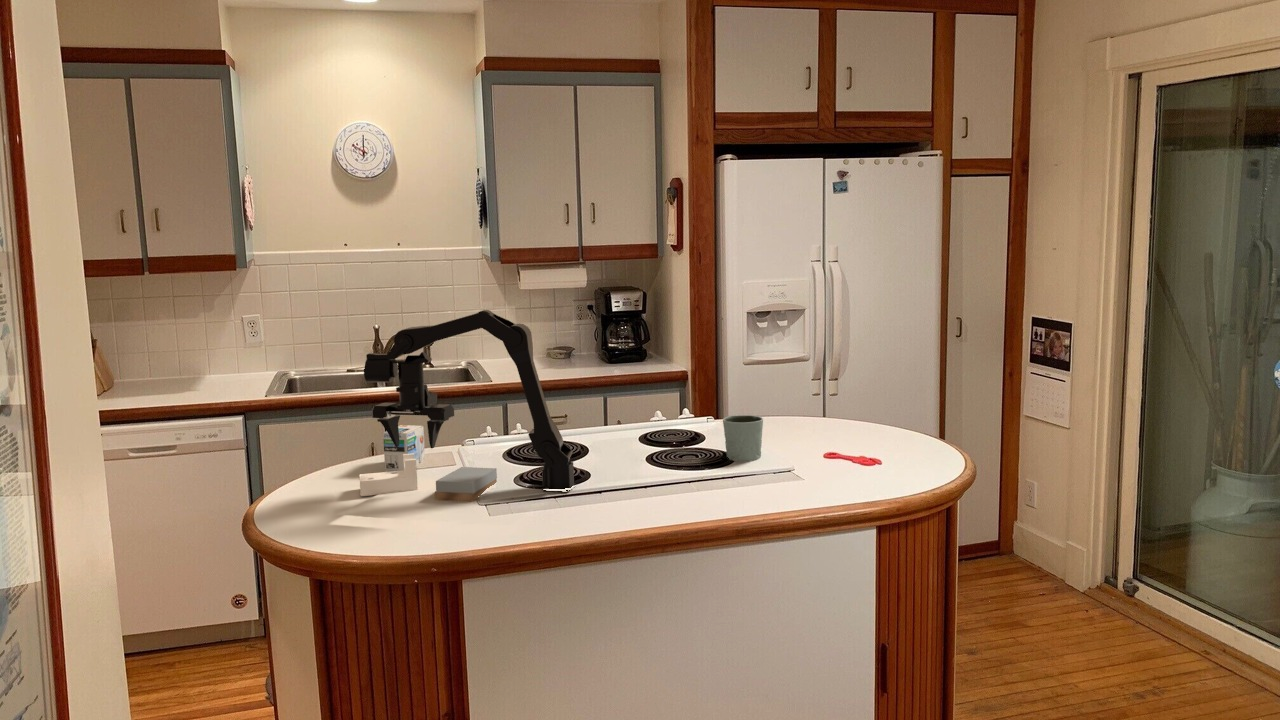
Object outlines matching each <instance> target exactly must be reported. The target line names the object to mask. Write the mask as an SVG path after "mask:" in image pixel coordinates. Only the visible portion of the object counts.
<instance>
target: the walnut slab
mask: <svg viewBox="0 0 1280 720" xmlns="http://www.w3.org/2000/svg"><path fill="white" fill-rule="evenodd" d="M496 482H497V483H498V481H497V479H495V480H494V481H492V482H491V483H489V484H488V485H486V486H484V487H483V488H481V489H480V490H478V491H476V492H475V493H473V494H470V493H450V492H436V491H434V500H435V501H444V502H445V501H447V502H449V501H450V502H464V503H465V502H466V503H472V502H474V501H476V500H477V499H479V498H478V496H480V495H481V494H482V493H483V492H484V491H485V490H486V489H487V488H489V487H490V486H492V485H494V484H495V483H496ZM480 497H481V496H480Z"/></svg>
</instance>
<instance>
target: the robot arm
mask: <svg viewBox="0 0 1280 720" xmlns="http://www.w3.org/2000/svg"><path fill="white" fill-rule="evenodd" d="M479 329H483V330H484V331H487V333H489V334H491V335H492V336H494V337H495V338H496V339H498V340H499V341H502V343H503V345H504V347H505V350H506V351H507V353H508V355H509V357H510V359H511V360H512V361H513V363H514V364H515V366H516V370H517V373H518V376H519V379H520V382H521V385H522V389H523V392H524V396H525V399H526V402H527V404H528V409H529V412H530V415H531V419H532V423H533V428H531V430H530V431H529V432H528V433H527V434H528V438H529V440H530V441H531V445H532V451H533V452H534V451H535V452H536V454H537V457H539V458H540V459H543V461H544V463H543V469H542V470H541V473H542V474H541V476H542V479H541V480H542V486H543V485H544V486H545V487H548V488H549V489H565V488H571V487H572V486H573V485H574V484H575V478H574V477H575V476H574V475H575V474H574V473H575V472H574V470H575V469H574V462H573V461H570V460H571V458H572V455H573V449H571V447H569V445H567V444H566V443H565V442H564V439H563V437H562V436H563V435H562V434H561V432H560V430H559V428H558V426H557V425H556V423H555V422H554V420H553V419H552V417H551V415H550V412H549V408H548V405H547V402H546V401H547V400H546V398H545V395H544V391H543V389H542V384H541V380H540V379H539V375H538V371H537V368H536V365H535V362H534V346H533V343H534V342H533V336H532V331H531V328H530V327H528V326H527V325H525V324H523V323H514V322H513V321H510V320H508V319H506V318H504V317H502V316H499V315H497V314H495V313H494V312H493V311H491V310H489V309H483V310H481V311H478V312H476V313H473V314H469V315H465V316H462V317H459V318H456V319H451V320H448V321H445V322H441V323H438V324H435V325H420V326H410V327H407V328H404V329H401V330H399V331H397V332H396V334H395V335H394V339H393V345H392V347H390V349H389V351H388V352H387V353H375V352H369V353H367V354H366V355H365V356H366V360H365V362H364V368H363V375H364V380H365V382H366V383H393V381H394V378H397V377H398V386H397V387H396V388H395V392H396V393H399V404H398V403H397V402H382V403H380V404H375V405H374V406H373V408H372V409H371V418H372V419H377V420H376V422H377V423H379V422H380V424H381V425H382V427H383V428H384V429H385V432H386V431H387V432H388V434H389V436H390V438H391V439H392V441H393V443H394V445H395V447H398V446H399V428H398V426H399V421H400V418H401V415H402V416H425V417H426V416H427V417H428V419H430V420H428V421H426V424H427V425H426V426H427V434H428V441H429V448H430V449H434V448H435V446H436V443H437V439H438V436H439V433H440V430H441V428H442V426H443V424H444V423H445V422H446V421H449V420H450V418H452V417H455V408H454V407H453V405H452V404H448V403H447V404H445V403H444V404H443V403H441V404H439V403H438V404H437V401H438V394H437V393H436V392H432V391H429V388H428V383H427V384H425V377H424V376H425V375H424V364H427V363H430V362H431V361H432V360H433V358H432V357H430V356H429V355H428V354H427V353H426V352H425V351H422V352H420V353H419V354H418V355H417V354H415V355H414V354H413V353H415V352H417V351H419V350H421V349H423V348H426V347H427V346H430V345H432V344H433V343H435V342H437V341H442V340H445V339H448V338H451V337H456V336H458V335H462V334H465V333H469V332H472V331H476V330H479ZM410 354H411V355H410ZM404 355H407V356H406V357H405V359H404V358H401V359H398V358H400V357H403V356H404ZM543 489H544V487H543V488H541V491H542V490H543ZM566 491H568V490H566Z"/></svg>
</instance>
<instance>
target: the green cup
mask: <svg viewBox="0 0 1280 720" xmlns="http://www.w3.org/2000/svg"><path fill="white" fill-rule="evenodd" d="M722 422H723V423H722V425H723V433H724V434H723V435H724V438H725V439H724V440H725V443H724V444H725V450H726V451H725V452H726V458H727V457H728V458H729V459H728V458H727V459H728V460H730V461H733V462H740V463H741V462H754V461H757V460H759V459H761V457H762V443H763V442H762V439H763V429H764V428H763V426H764V418H763V417H762V416H759V415H753V414H737V415H728V416H726V417H723V419H722Z"/></svg>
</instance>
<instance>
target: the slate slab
mask: <svg viewBox="0 0 1280 720" xmlns="http://www.w3.org/2000/svg"><path fill="white" fill-rule="evenodd" d="M497 471H498V470H497V467H496V468H495V467H494V468H493V467H473V466H472V467H471V466H461V467H459V468H457V469H455V470H453V471H452V472H450V473H448V474H446V475H444V476H442V477H441V478H439V479H436V480H435V492H450V493H470V494H473V493H475V492H476V491H478V490H480V489H481V488H483V487H484V486H486V485H488V484H489V483H491V482H492V481H494V480H495V479H497V478H498V473H497Z"/></svg>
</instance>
